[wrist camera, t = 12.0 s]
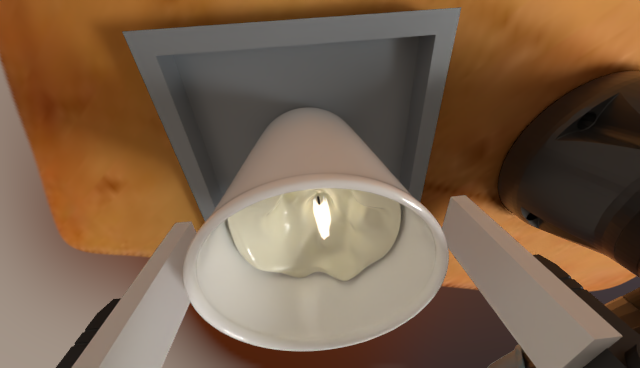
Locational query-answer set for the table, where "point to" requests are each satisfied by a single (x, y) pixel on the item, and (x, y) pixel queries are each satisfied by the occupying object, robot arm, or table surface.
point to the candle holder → (314, 242)
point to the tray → (297, 87)
